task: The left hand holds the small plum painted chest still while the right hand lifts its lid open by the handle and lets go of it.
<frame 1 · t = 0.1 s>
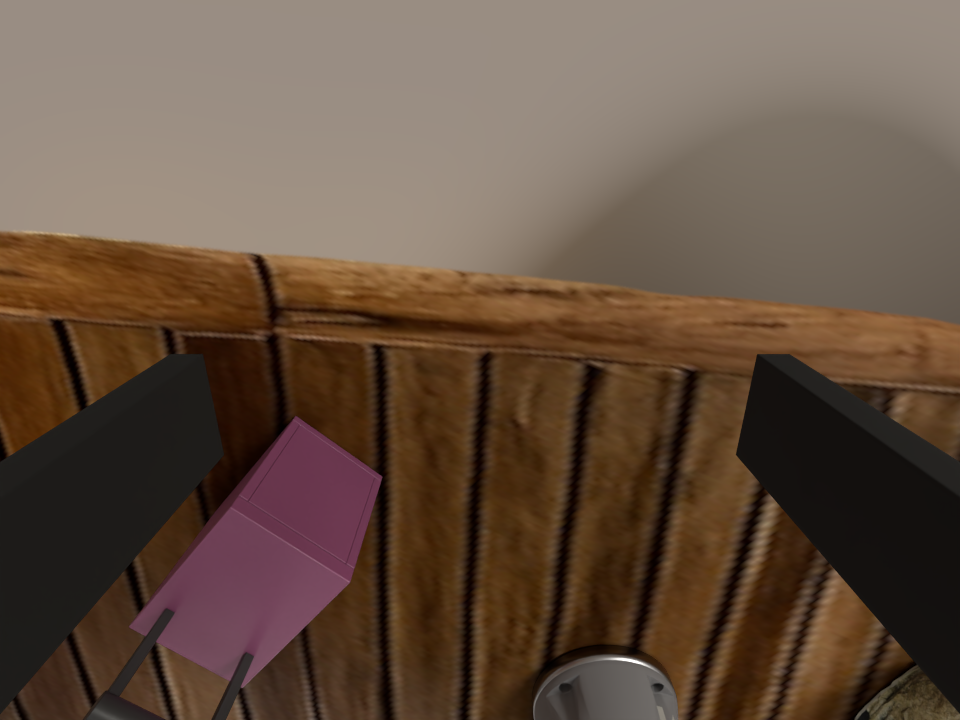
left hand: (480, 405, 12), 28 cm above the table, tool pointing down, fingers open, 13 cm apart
chest: (298, 493, 47), on the table
lid: (213, 648, 32), point 16 cm above the table, hinge at 0.0°
fossil: (902, 699, 57), on the table
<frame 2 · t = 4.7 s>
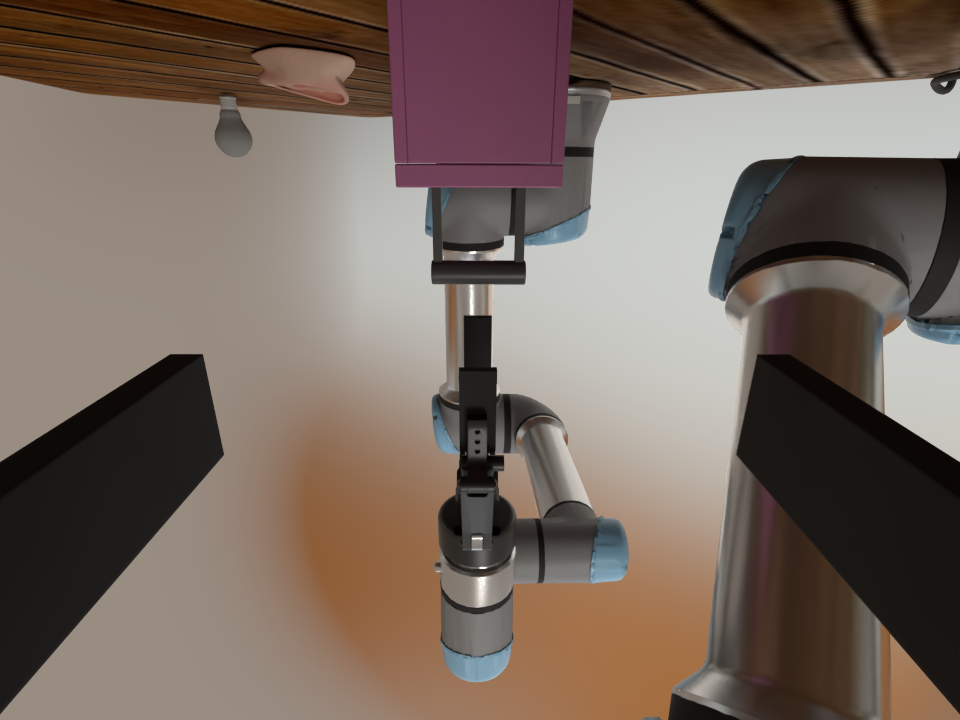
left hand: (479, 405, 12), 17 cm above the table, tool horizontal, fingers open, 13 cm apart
anatomical model: (306, 57, 58), on the table
lid: (478, 232, 36), point 16 cm above the table, hinge at 0.0°
light bulb: (226, 93, 88), on the table
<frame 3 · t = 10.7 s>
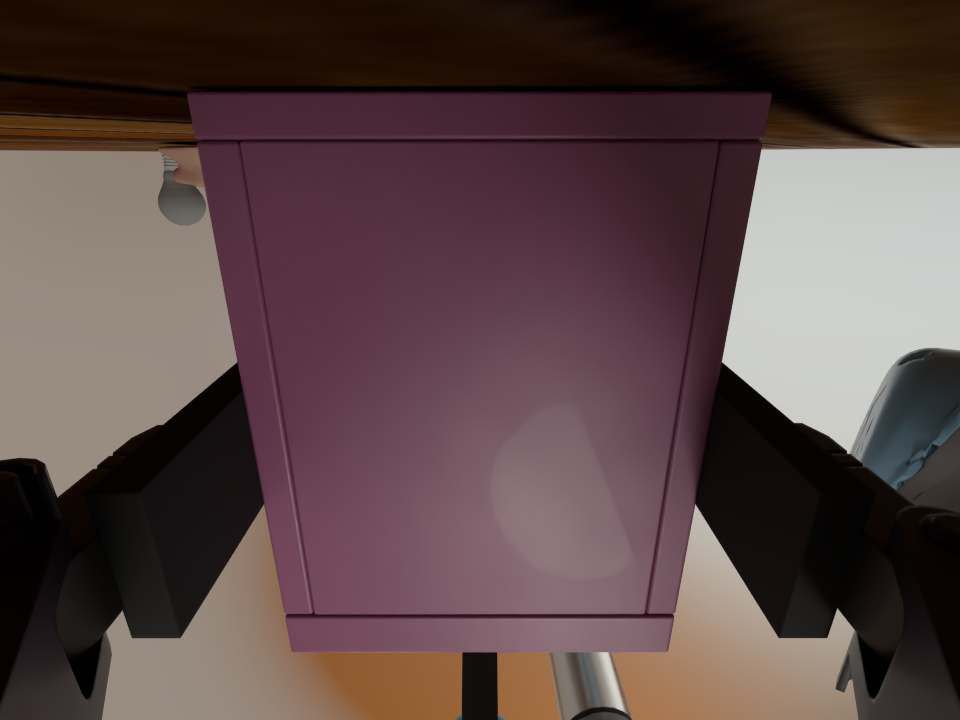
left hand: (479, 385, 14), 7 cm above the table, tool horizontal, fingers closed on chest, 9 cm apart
chest: (479, 119, 14), on the table, touching left hand
anatomical model: (239, 144, 42), on the table
lid: (479, 557, 20), point 16 cm above the table, hinge at 0.0°
light bulb: (171, 150, 72), on the table
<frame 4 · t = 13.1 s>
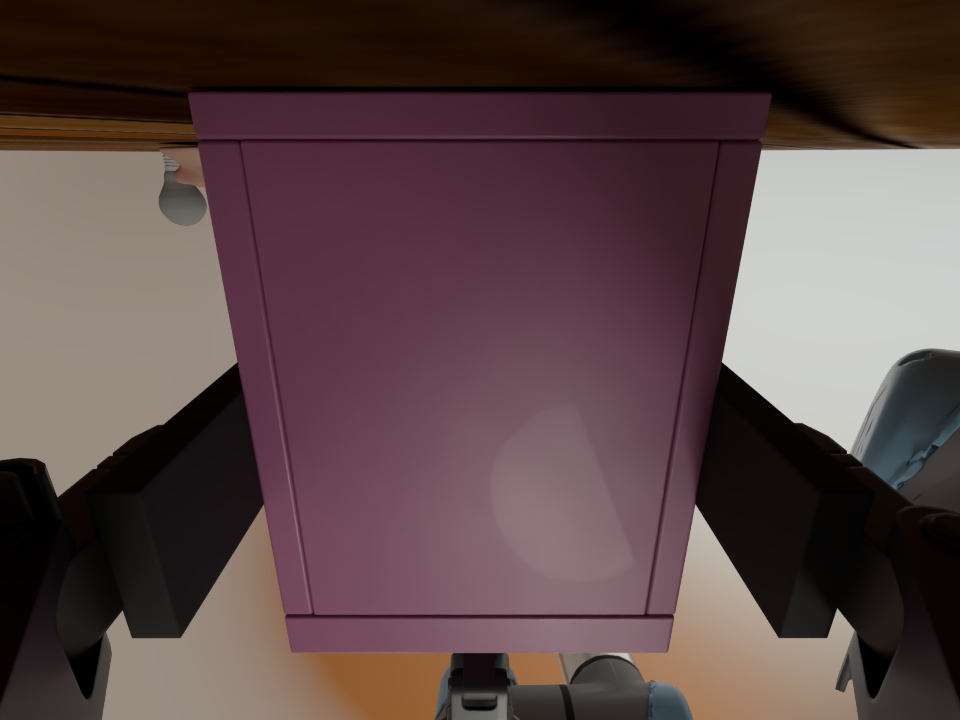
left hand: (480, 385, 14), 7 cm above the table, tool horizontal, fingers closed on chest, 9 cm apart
chest: (479, 119, 14), on the table, touching left hand
anatomical model: (240, 145, 42), on the table
lid: (479, 559, 20), point 16 cm above the table, hinge at 0.1°, touching right hand
light bulb: (172, 150, 72), on the table
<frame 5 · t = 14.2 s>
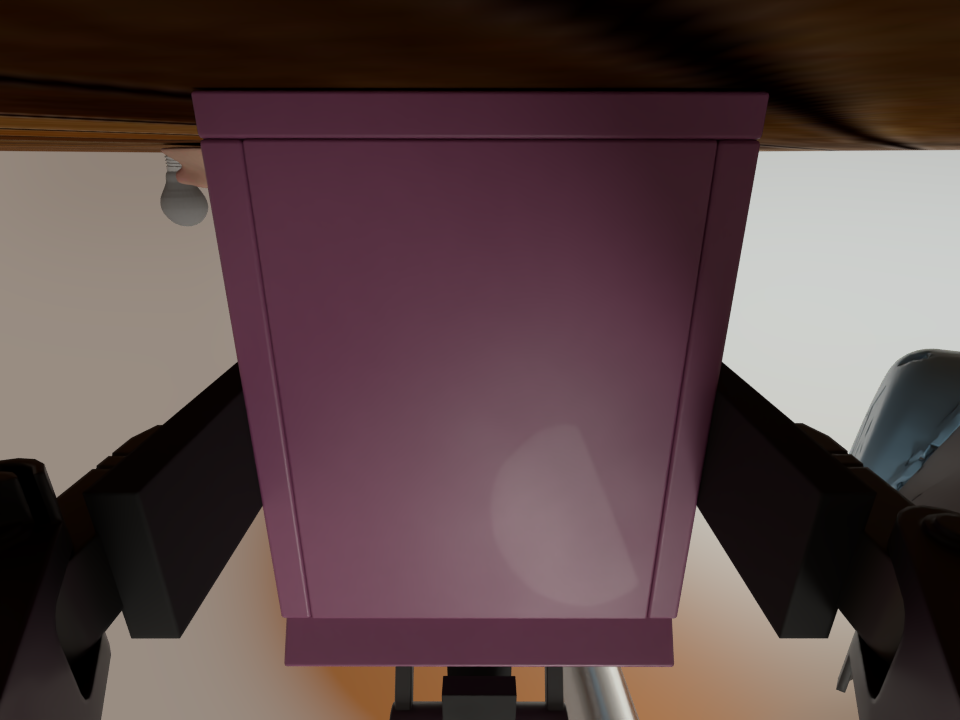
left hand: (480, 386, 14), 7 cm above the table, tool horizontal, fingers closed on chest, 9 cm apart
chest: (480, 124, 14), on the table, touching left hand
anatomical model: (242, 145, 42), on the table
lid: (479, 679, 19), point 19 cm above the table, hinge at 28.1°, touching right hand
light bulb: (174, 151, 72), on the table
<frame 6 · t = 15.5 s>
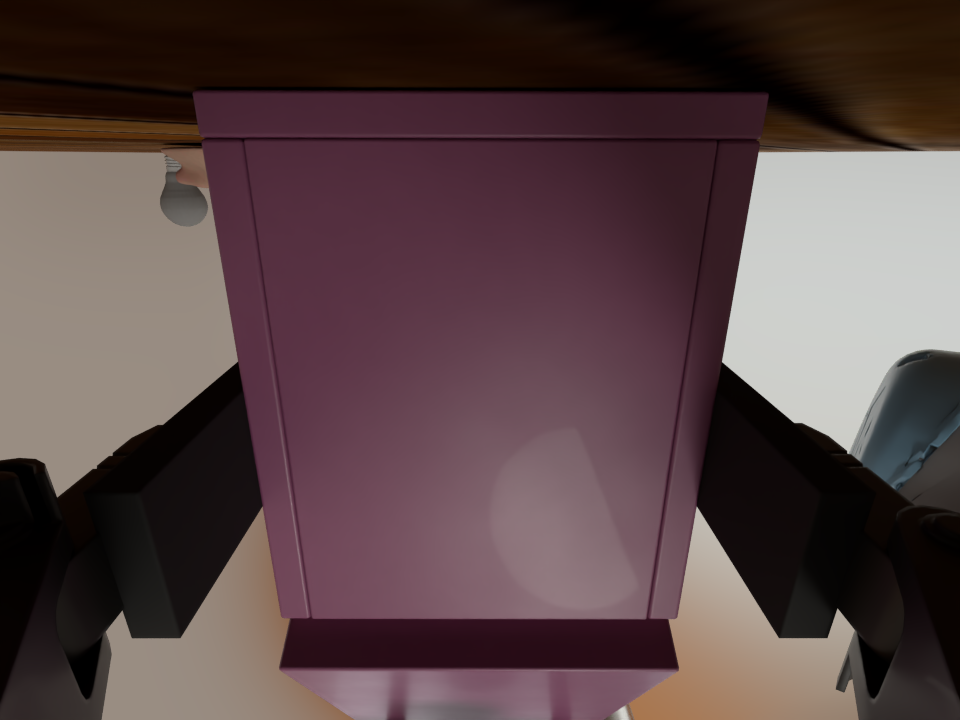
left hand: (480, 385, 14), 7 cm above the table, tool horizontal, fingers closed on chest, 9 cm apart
chest: (480, 125, 14), on the table, touching left hand
anatomical model: (242, 146, 42), on the table
light bulb: (173, 151, 72), on the table
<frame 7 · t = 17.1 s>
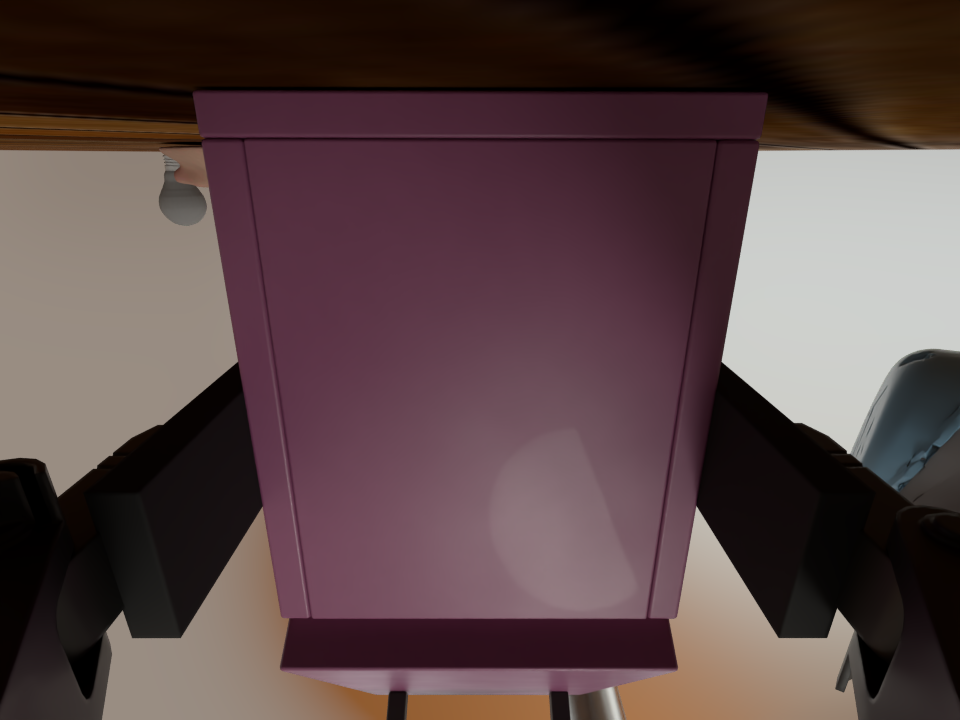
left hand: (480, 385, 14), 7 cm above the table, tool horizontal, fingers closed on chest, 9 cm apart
chest: (480, 125, 14), on the table, touching left hand
anatomical model: (241, 145, 42), on the table
light bulb: (172, 150, 72), on the table
when the left hand's fingers open (7 cm above the table, at t = 19.7 s): chest stays where it is, on the table.
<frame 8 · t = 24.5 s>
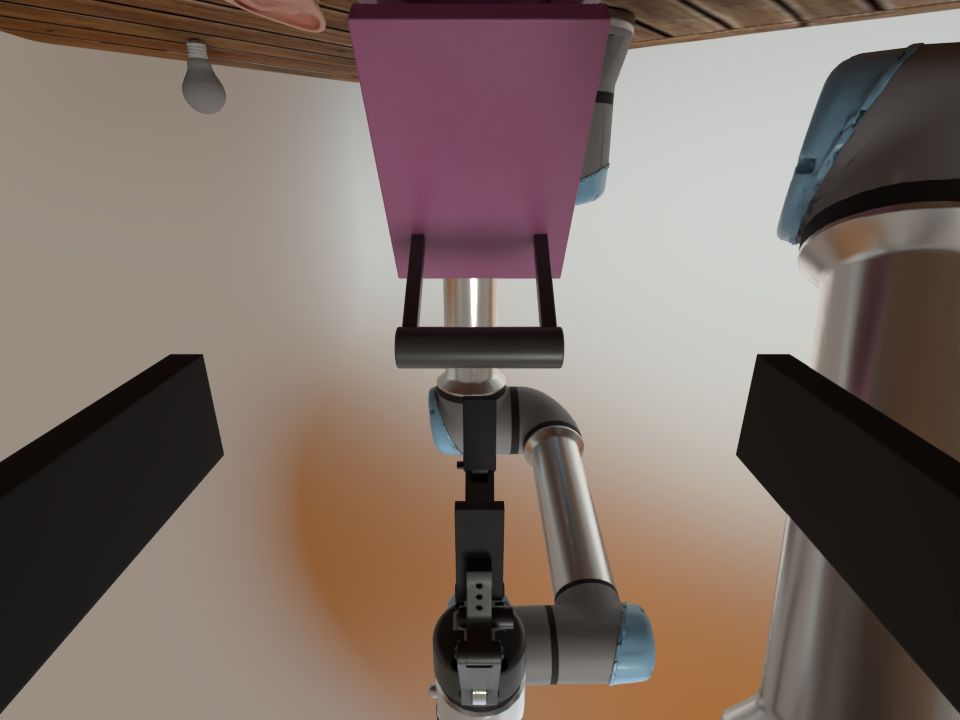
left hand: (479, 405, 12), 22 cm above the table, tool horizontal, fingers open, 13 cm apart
lid: (479, 230, 22), point 20 cm above the table, hinge at 54.0°
light bulb: (195, 39, 78), on the table
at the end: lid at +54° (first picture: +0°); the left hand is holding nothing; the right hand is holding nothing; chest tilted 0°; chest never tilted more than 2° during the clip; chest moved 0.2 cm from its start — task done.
